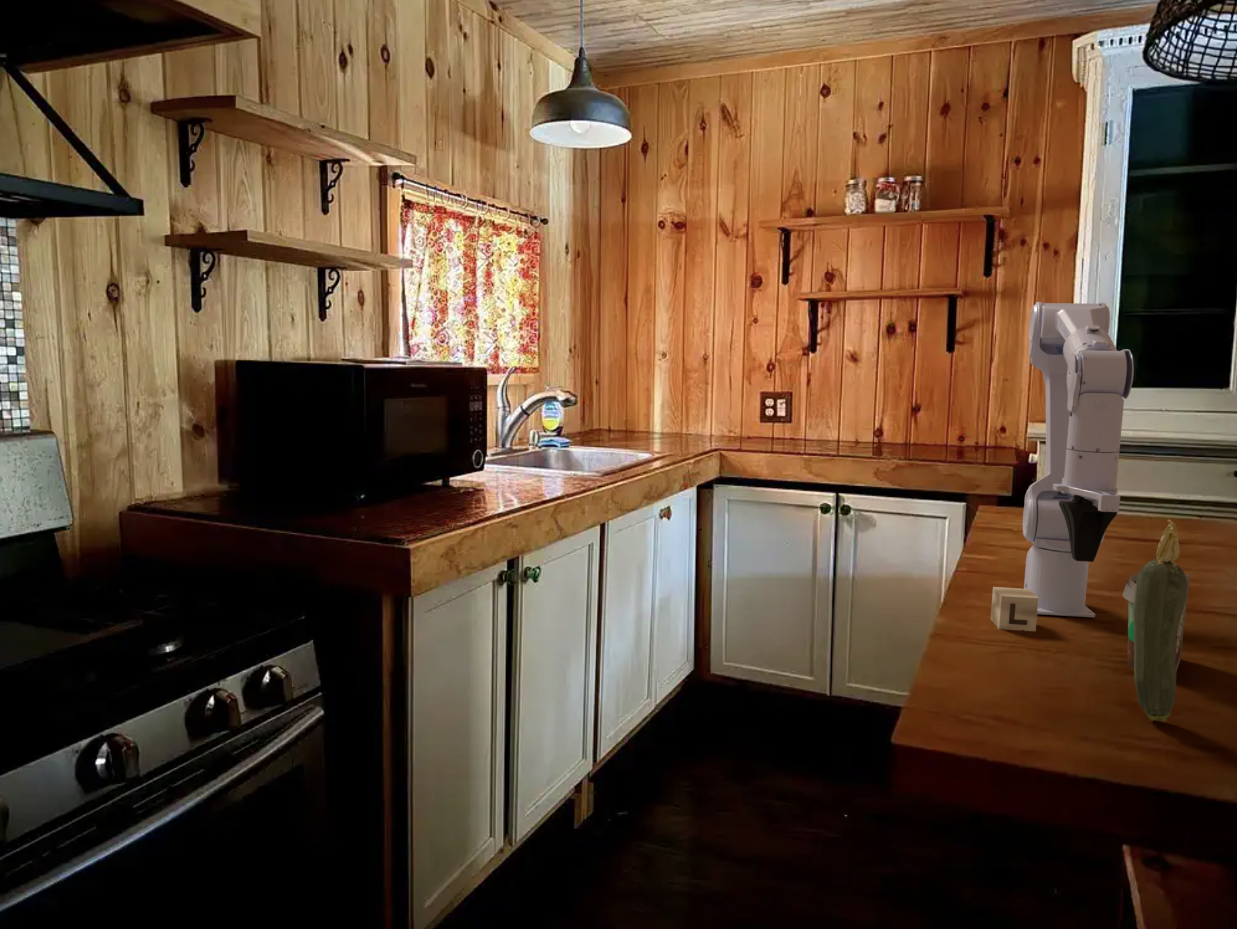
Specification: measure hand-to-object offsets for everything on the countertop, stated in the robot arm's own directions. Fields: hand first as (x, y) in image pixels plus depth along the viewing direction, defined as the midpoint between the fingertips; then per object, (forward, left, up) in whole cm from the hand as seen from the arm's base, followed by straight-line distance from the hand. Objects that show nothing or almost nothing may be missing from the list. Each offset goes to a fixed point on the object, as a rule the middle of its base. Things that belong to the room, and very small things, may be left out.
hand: (1083, 560), depth 115 cm
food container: (+7, +6, -11) cm, 14 cm away
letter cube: (-6, -6, -11) cm, 14 cm away
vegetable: (+25, -1, -11) cm, 27 cm away
